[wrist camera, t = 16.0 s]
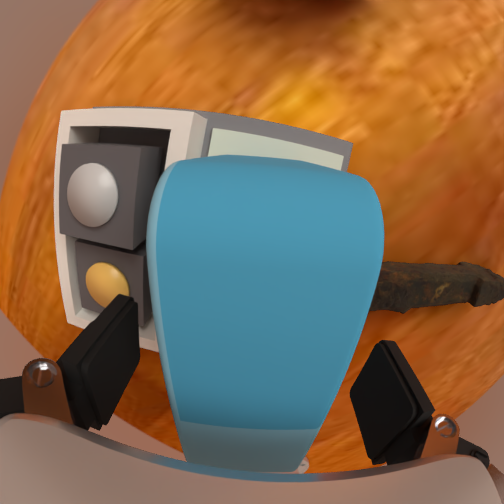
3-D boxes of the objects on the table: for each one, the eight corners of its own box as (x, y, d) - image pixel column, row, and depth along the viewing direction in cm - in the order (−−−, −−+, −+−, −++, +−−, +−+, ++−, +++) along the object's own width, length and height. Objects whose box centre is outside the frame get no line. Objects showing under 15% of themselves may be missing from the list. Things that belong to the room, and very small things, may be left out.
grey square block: (153, 232, 15) (130, 252, 12) (86, 219, 15) (56, 235, 12) (163, 147, 14) (138, 147, 10) (91, 142, 13) (58, 144, 10)
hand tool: (316, 296, 20) (329, 334, 16) (324, 247, 19) (342, 277, 15) (479, 295, 20) (503, 318, 16) (491, 260, 19) (519, 280, 15)
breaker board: (287, 350, 22) (291, 389, 18) (95, 308, 21) (71, 337, 17) (348, 143, 16) (375, 142, 12) (100, 108, 15) (62, 102, 11)
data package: (280, 329, 20) (292, 481, 8) (219, 324, 20) (189, 474, 8) (301, 160, 15) (402, 188, 4) (225, 153, 15) (138, 164, 4)
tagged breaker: (157, 302, 19) (142, 329, 16) (100, 287, 19) (79, 309, 16) (160, 239, 17) (141, 258, 14) (98, 227, 17) (72, 242, 14)
